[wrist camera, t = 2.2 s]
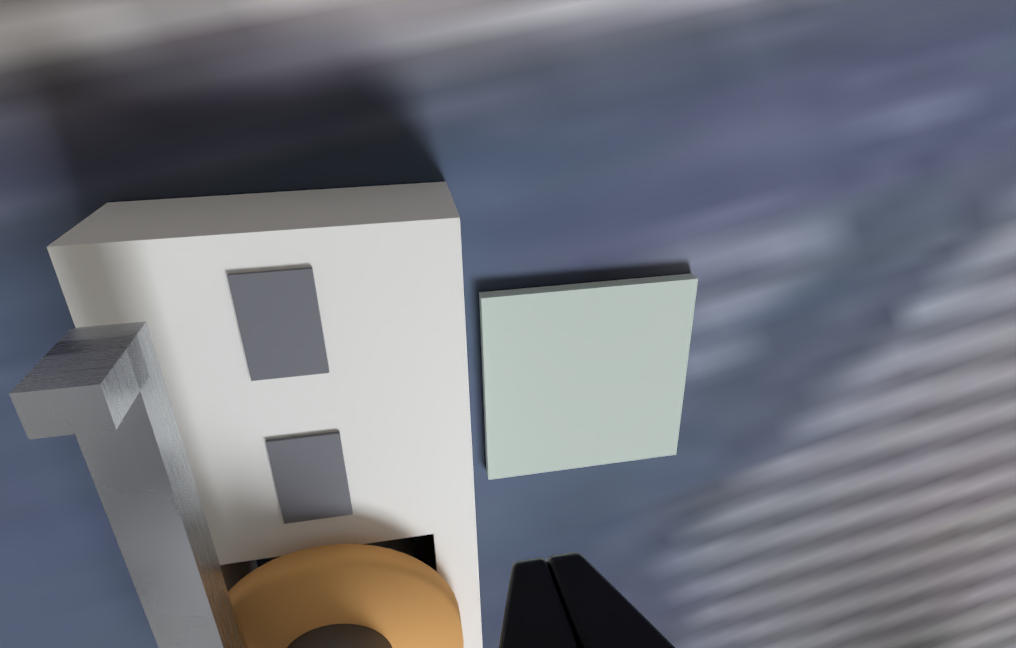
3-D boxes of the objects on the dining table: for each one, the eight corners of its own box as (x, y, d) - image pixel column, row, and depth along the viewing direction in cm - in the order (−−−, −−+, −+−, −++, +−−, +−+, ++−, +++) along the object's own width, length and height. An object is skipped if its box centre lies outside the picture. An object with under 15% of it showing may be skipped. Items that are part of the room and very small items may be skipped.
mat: (670, 446, 21) (676, 454, 20) (486, 471, 20) (488, 479, 19) (691, 273, 18) (698, 278, 18) (478, 292, 17) (481, 298, 17)
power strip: (477, 701, 24) (495, 825, 21) (271, 740, 23) (250, 878, 20) (445, 181, 16) (466, 236, 12) (107, 202, 14) (13, 270, 11)
